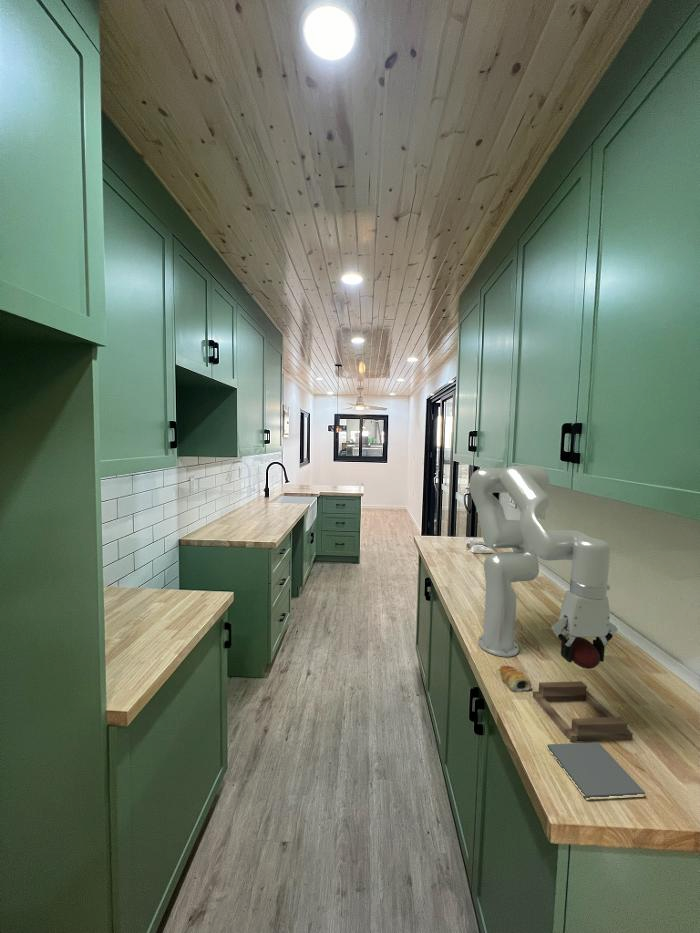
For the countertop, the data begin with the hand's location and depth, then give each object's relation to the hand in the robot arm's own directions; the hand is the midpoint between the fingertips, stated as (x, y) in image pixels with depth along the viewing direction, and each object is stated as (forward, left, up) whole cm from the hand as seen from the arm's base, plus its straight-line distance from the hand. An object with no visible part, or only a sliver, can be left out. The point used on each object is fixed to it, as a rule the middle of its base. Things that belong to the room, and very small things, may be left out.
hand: (581, 658), depth 92 cm
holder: (0, 0, -15) cm, 15 cm away
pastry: (-13, -9, -15) cm, 22 cm away
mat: (+15, -8, -15) cm, 23 cm away
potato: (0, 0, -2) cm, 2 cm away
